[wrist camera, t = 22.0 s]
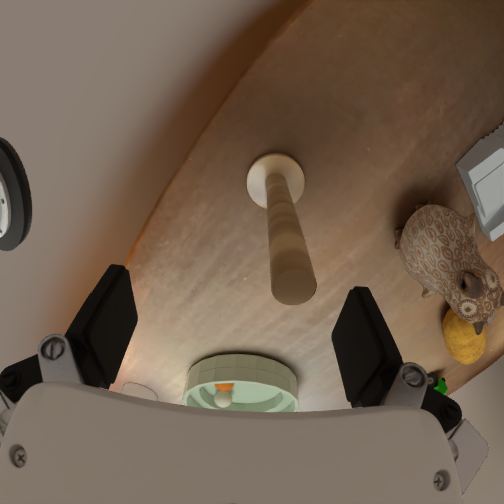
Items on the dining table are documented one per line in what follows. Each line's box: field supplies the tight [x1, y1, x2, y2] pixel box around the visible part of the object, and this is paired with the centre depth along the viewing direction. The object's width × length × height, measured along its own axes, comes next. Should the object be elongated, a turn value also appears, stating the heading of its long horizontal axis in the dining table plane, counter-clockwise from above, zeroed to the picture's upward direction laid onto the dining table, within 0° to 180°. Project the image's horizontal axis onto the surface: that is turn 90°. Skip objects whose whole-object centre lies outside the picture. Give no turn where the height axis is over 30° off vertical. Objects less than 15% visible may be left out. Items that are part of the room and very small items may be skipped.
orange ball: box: [214, 383, 234, 392], centre depth 36 cm, size 3×3×3 cm
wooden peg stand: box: [246, 153, 317, 305], centre depth 17 cm, size 5×5×15 cm
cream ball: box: [214, 391, 233, 408], centre depth 39 cm, size 3×3×3 cm
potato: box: [442, 308, 486, 364], centre depth 29 cm, size 7×14×7 cm, turn 46°
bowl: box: [182, 354, 299, 412], centre depth 37 cm, size 17×17×5 cm
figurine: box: [395, 200, 504, 335], centre depth 18 cm, size 9×10×15 cm
